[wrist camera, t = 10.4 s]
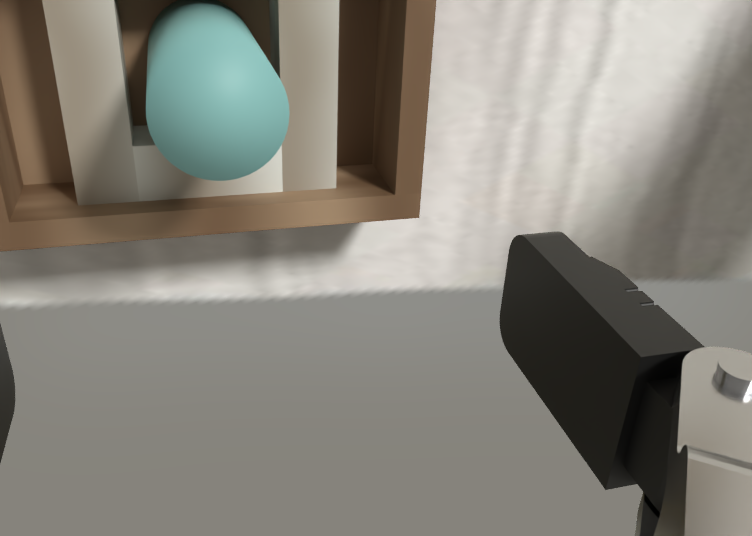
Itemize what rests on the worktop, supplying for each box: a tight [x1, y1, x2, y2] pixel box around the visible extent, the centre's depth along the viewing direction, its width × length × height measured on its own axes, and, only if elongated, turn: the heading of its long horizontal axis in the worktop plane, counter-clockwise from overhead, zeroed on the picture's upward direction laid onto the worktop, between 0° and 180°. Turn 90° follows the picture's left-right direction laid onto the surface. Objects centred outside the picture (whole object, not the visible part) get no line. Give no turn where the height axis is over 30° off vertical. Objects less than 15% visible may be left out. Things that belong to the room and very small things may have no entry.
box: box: [0, 0, 436, 251], centre depth 24 cm, size 15×11×4 cm
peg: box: [146, 0, 289, 181], centre depth 22 cm, size 4×4×8 cm
